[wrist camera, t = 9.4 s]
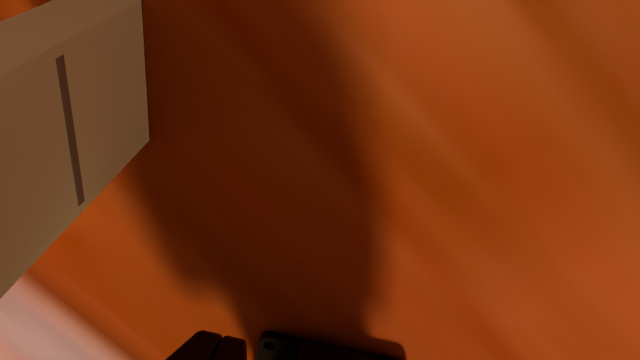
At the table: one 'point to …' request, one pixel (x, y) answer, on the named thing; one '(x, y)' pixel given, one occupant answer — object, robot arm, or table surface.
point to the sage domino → (65, 117)
